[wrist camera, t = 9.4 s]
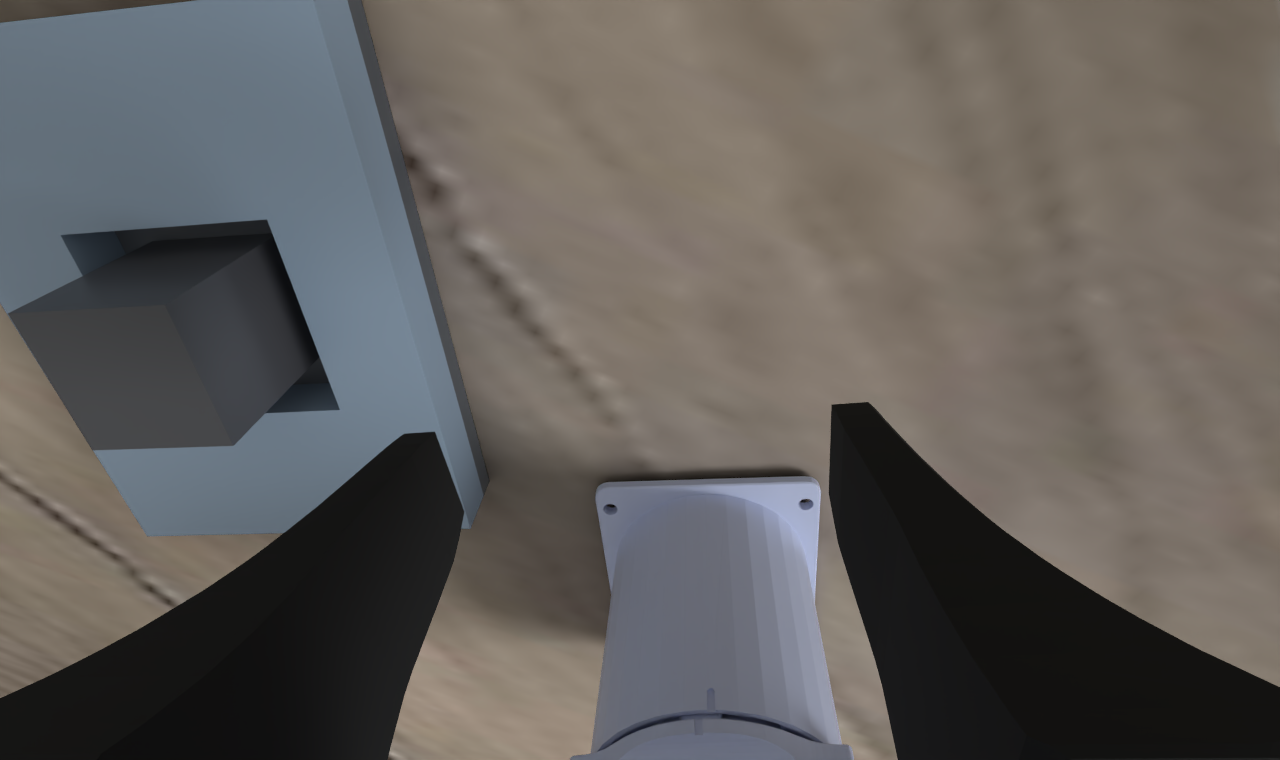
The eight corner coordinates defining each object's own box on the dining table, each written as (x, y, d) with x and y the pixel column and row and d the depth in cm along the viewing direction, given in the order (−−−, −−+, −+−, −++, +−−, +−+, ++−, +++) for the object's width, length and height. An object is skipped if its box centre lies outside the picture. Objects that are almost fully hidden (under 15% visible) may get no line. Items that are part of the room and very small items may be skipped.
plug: (323, 352, 22) (233, 446, 18) (208, 358, 22) (92, 450, 18) (278, 232, 20) (164, 305, 15) (152, 240, 20) (7, 313, 16)
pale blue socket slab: (489, 481, 25) (470, 528, 23) (191, 490, 26) (147, 536, 24) (357, -15, 17) (309, -13, 15) (-65, 33, 18) (-165, 41, 16)
